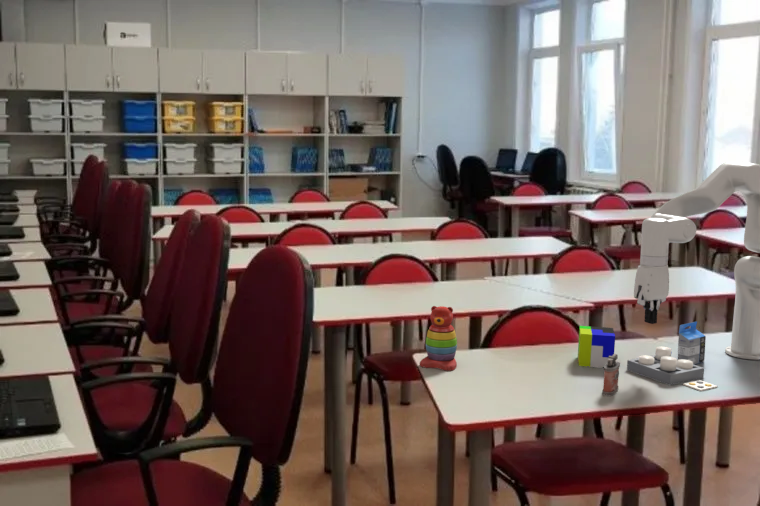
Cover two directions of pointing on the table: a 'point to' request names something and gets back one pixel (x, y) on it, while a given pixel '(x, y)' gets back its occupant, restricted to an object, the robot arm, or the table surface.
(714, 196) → the robot arm
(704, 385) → the pattern card
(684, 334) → the label tape box
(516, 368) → the table surface
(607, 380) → the lighter
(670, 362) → the button
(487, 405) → the table surface
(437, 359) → the stacking bear
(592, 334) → the puzzle toy
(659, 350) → the button
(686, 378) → the button board
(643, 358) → the button
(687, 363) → the button
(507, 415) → the table surface
